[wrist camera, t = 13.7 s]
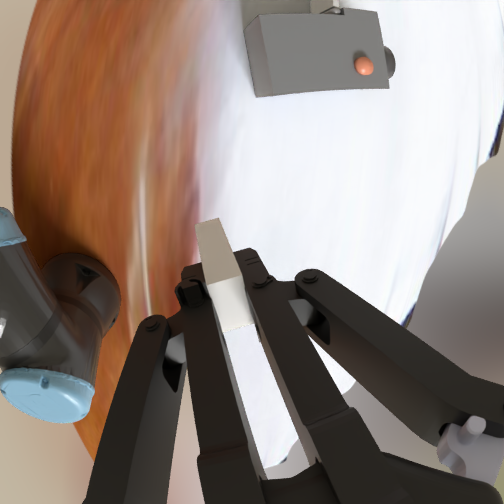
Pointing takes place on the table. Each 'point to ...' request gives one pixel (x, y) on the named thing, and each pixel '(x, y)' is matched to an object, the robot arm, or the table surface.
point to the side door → (324, 7)
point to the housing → (317, 52)
